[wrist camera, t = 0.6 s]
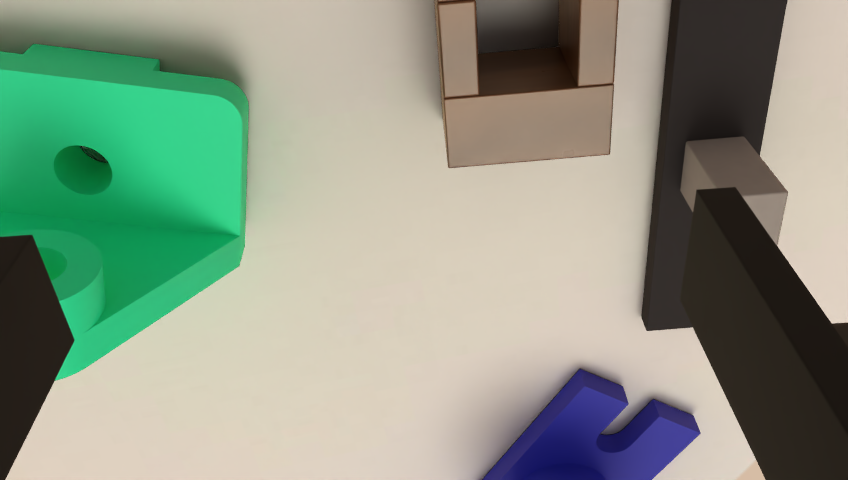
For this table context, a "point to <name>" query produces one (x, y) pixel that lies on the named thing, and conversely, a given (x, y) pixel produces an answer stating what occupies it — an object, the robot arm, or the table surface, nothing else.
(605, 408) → the mount
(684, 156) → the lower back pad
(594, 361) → the table surface
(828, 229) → the table surface
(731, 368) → the robot arm
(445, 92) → the brown wooden frame
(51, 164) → the camera mount
